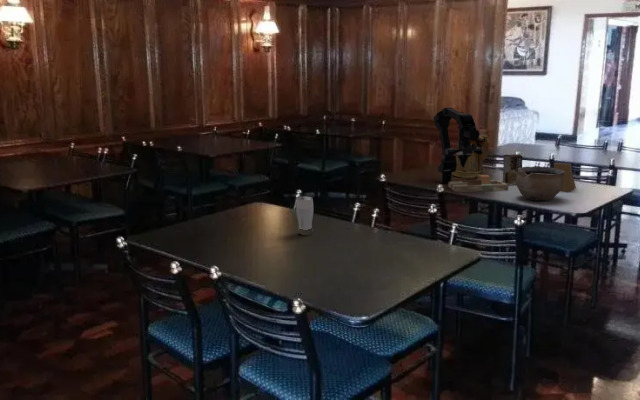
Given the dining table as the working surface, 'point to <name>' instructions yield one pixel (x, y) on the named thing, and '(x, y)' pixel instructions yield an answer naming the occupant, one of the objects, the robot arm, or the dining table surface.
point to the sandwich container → (566, 176)
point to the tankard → (474, 160)
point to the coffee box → (511, 168)
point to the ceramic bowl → (539, 182)
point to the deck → (476, 185)
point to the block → (484, 179)
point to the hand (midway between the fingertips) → (462, 167)
